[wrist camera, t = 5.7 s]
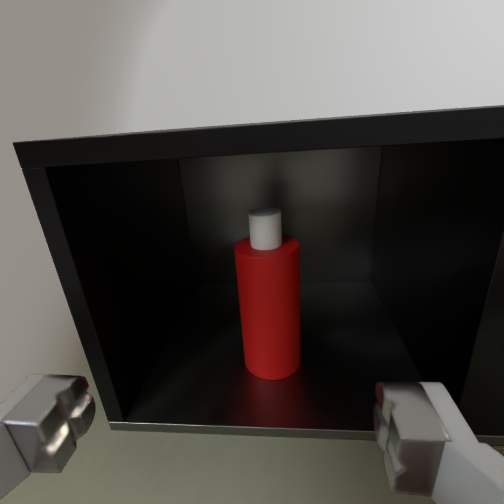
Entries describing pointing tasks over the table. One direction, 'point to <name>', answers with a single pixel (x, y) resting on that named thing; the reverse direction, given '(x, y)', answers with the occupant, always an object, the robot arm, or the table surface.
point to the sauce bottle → (269, 296)
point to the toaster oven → (310, 266)
